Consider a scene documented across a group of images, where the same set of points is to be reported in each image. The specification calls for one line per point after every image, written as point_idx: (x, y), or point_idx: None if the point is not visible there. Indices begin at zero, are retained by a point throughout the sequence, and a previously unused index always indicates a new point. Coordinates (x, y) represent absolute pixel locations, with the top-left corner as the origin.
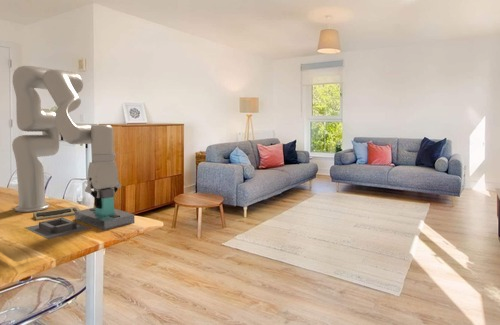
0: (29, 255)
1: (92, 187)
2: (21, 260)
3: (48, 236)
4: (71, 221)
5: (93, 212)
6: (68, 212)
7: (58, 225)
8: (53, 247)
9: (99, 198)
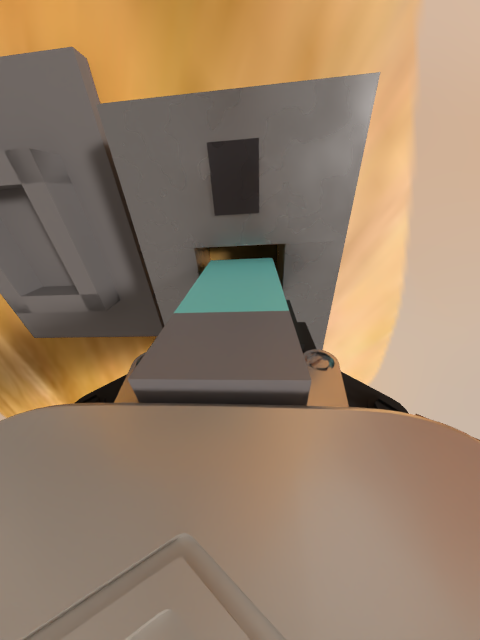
0: (15, 375)
1: (75, 414)
2: (7, 385)
3: (28, 315)
4: (85, 279)
5: (203, 246)
6: None
7: (33, 296)
8: (61, 368)
9: None
